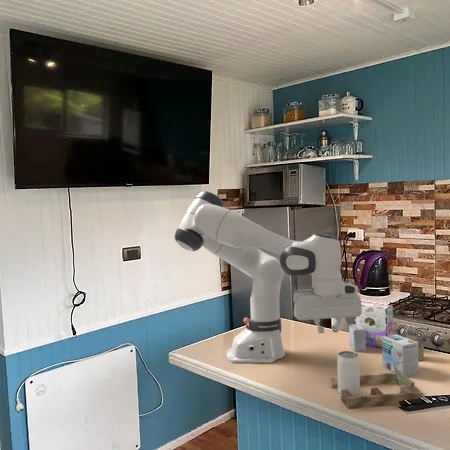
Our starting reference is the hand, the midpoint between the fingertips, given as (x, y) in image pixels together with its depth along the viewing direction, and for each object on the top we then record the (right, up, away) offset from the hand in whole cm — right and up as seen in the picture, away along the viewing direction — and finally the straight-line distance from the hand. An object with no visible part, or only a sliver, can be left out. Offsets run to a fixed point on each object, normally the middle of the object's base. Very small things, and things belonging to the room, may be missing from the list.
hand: (328, 332), depth 141 cm
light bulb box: (+29, -17, +18) cm, 38 cm away
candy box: (+28, -16, +45) cm, 55 cm away
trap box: (+14, -19, 0) cm, 23 cm away
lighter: (+38, -16, +29) cm, 50 cm away
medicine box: (+21, -16, +41) cm, 49 cm away
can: (+7, -19, +2) cm, 20 cm away
